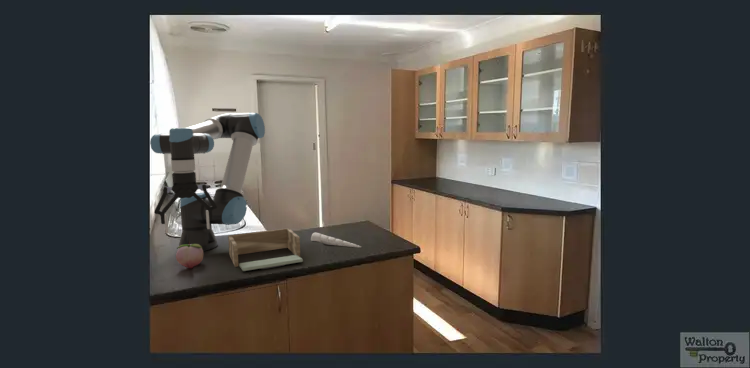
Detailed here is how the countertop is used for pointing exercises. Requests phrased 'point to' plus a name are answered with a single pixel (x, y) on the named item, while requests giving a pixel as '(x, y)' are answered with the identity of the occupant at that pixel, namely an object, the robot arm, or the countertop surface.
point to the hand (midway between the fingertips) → (188, 230)
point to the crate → (263, 242)
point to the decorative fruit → (189, 255)
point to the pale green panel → (270, 262)
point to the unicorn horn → (331, 240)
